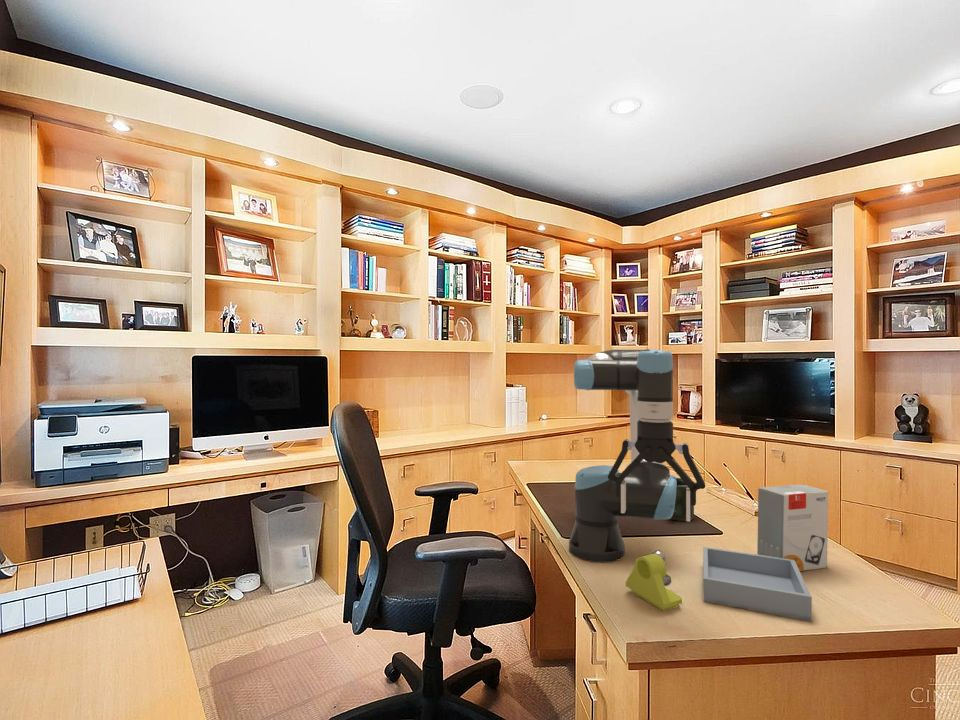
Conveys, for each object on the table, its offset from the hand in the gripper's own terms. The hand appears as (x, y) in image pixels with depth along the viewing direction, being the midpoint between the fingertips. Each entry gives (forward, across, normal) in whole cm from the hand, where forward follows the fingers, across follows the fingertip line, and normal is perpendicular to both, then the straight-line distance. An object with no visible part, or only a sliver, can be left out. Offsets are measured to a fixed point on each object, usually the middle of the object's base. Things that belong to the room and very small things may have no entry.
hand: (655, 515), depth 107 cm
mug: (+19, +2, +62) cm, 65 cm away
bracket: (+19, 0, 0) cm, 19 cm away
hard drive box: (+19, +31, +34) cm, 50 cm away
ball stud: (+19, 0, +11) cm, 22 cm away
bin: (+19, +20, +14) cm, 31 cm away
